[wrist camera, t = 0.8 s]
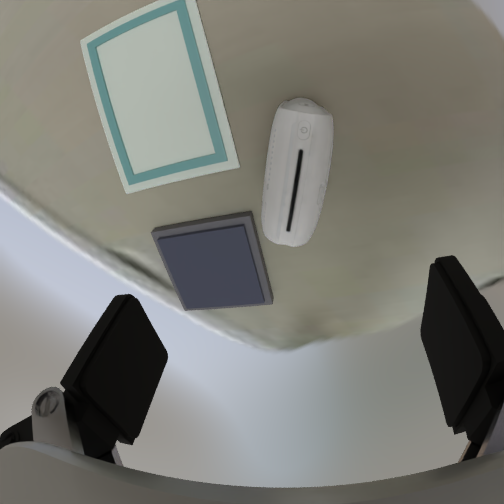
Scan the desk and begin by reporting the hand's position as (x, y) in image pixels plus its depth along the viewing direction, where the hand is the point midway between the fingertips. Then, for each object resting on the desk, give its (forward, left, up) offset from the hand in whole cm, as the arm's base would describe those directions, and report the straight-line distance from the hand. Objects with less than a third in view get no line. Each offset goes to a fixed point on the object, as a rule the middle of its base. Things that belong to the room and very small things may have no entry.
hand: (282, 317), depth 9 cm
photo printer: (0, 0, -24) cm, 24 cm away
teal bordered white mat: (+13, -9, -23) cm, 28 cm away
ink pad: (+12, +12, -23) cm, 29 cm away
